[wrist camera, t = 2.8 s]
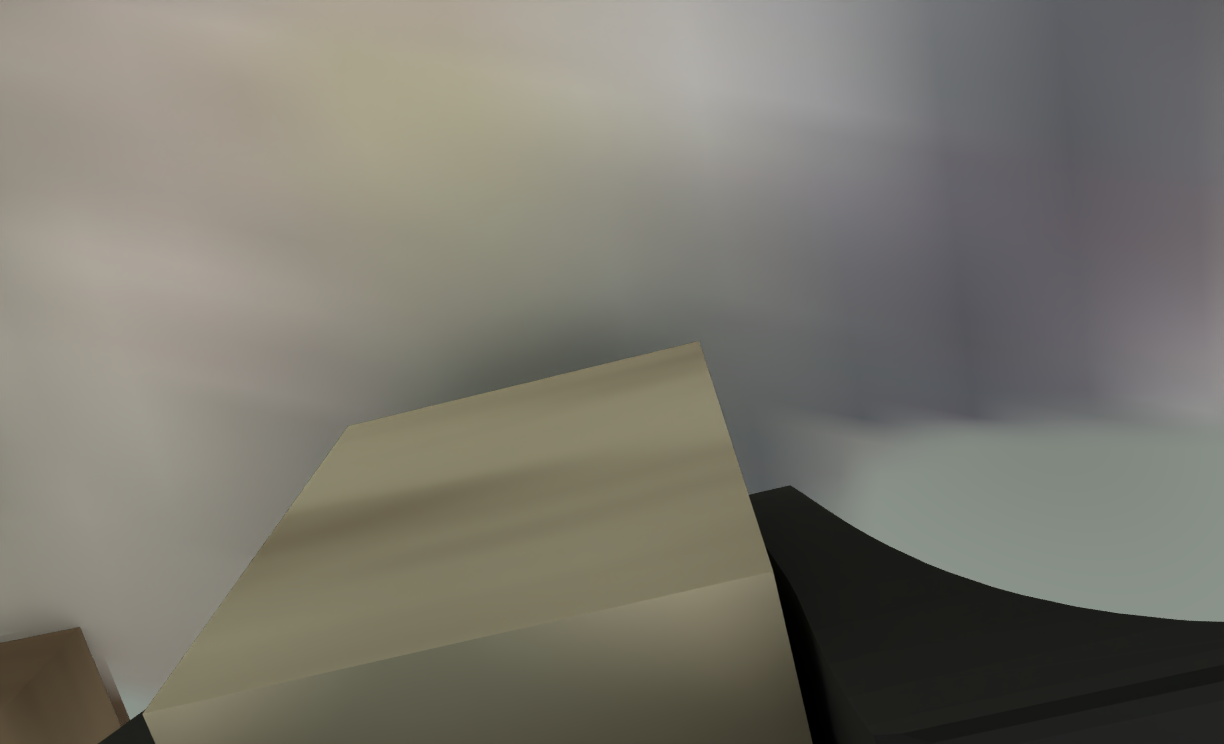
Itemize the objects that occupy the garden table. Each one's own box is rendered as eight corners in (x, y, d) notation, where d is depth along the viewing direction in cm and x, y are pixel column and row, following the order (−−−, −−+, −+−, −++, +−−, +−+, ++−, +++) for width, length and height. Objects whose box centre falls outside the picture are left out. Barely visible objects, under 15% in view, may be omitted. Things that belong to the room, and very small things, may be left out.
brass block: (773, 655, 14) (887, 1069, 8) (451, 726, 14) (345, 1175, 9) (698, 340, 13) (773, 571, 7) (348, 425, 13) (142, 713, 7)
